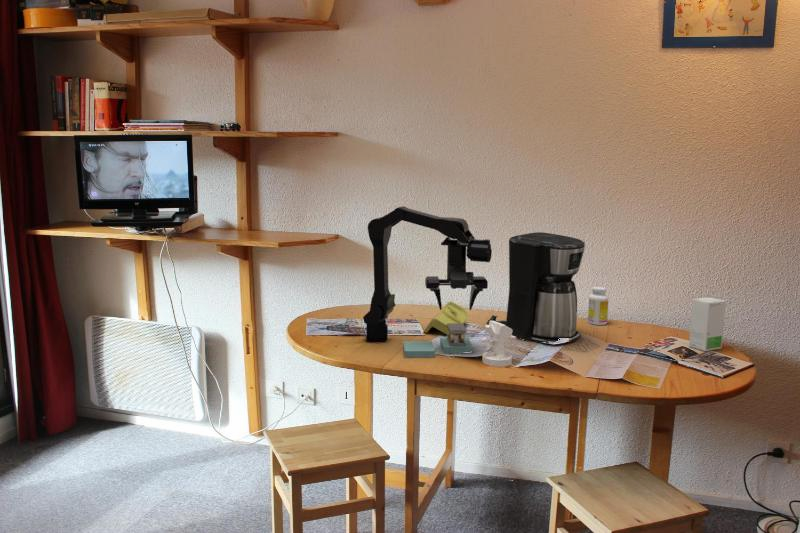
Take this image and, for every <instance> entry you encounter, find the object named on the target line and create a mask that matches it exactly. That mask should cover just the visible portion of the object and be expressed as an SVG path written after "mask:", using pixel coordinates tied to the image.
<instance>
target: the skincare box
mask: <svg viewBox="0 0 800 533" xmlns="http://www.w3.org/2000/svg"><path fill="white" fill-rule="evenodd" d="M726 304H727V301H726V300H723V299H720V298H716V297H715V298H714V297H697V298H693V299H692V306H691V315H690V316H691V317H690V318H691V319H690V328H689V329H690V330H689V338H688V340H689V342H688V348H689V347H690V348H693V349H695V350H699V351H701V352H709V351H713V350H721V349H722V347H723V338H724V337H723V336H724V325H725V313H726Z"/></svg>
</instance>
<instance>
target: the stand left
mask: <svg viewBox="0 0 800 533" xmlns="http://www.w3.org/2000/svg"><path fill="white" fill-rule="evenodd" d="M402 346H403V347H402V349H403V355H404V357H403V358H405V359H407V358H409V359H410V358H411V359H414V358H420V359H421V358H422V359H423V358H430V359H431V358H435V357H436V355H435V352H436V351H435V347H434V343H433V340H429V341H428V340H427V341H426V340H425V341H423V340H421V341H420V340H419V341H418V340H417V341H416V340H415V341H413V340H411V341H410V340H409V341H405V340H404V341H403V344H402Z"/></svg>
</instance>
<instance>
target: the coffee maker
mask: <svg viewBox="0 0 800 533" xmlns="http://www.w3.org/2000/svg"><path fill="white" fill-rule="evenodd" d="M585 245H586V244H585V241H583V240H581V239H579V238H575V237H571V236H567V235H563V234H558V233H557V234H556V233H549V232H540V231H539V232H538V231H537V232H530V233H529V232H528V233H524V234H518V235H513V236H511V237H509V240H508V270H509V271H508V274H509V275H508V276H509V277H508V280H509V281H508V285H509V287H508V288H509V289H508V299H507V300H508V301H507V309H506V310H507V311H506V320H497V317H498V315H493V314H492V315H491V317H490V319H488V320H487V321H486V325H489V321H496V322H498V323H501V324H504V325H505V326H507V327H509V328H511V329H512V330H513V331H512V336H515V337H517V338H516V339H518V338H521V339H520V340H522V339H524V340H523V341H526V340H533V341H532V342H534V341H537V342H536V343H539V342H546V343H549V342H556V341H558V339H559V338H569V341H571V342H573V341H572V340H574V341H575V339H576V340H577V339H579V337H580V336H581V335H582V334H581V332H580V331H578V330H577V324H578V323H577V321H578V320H577V319H578V318H577V317H578V316H577V315H578V314H577V313H578V296H577V289H576V284H575V281H574V280H572V279H573V277H574V276H576V274H578V273H579V270H580V266H581V263H582V260H583V256H584V252H585ZM559 340H560V339H559Z"/></svg>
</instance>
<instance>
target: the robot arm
mask: <svg viewBox="0 0 800 533" xmlns="http://www.w3.org/2000/svg"><path fill="white" fill-rule="evenodd" d="M402 221H403V222H407V223H411V224H413V225H417V226H420V227H424V228H427V229H428V228H429V229H431V230H434V231H436V232H439V233H440V234H442V235H444V236H445V239H444V240H443V241H442V242H441V243H440V245H441V246H447V254H446V256H447V260H446V262H447V263H446V279H443V278H441V279H440V278H439V276H436V275H435V276H432V275H431V276H429V275H427V276H426V277H425V280H424V281H425V282H424V286H425V289H429V291H431V292H433V293H434V294H435V297H436V300H437V304H438V306H439V310H440V311H442V309H443V308H442V297H441V296H442V295H441V288H440V286H449V287H450V288H451V289H453V290H456V289H462V290H465V289H467V288H468V287H467V286H470V294H469V295H470V297H469V305H468V306H469V311H471V310H472V308H473V306H474V304H475V300H476V299H477V296H478V294H479V293H480V292H483V291H484V290H487V289H488V283H489V282H488V280H487V278H486V277H485V276H482V275H479V276H474V272H473V271H467V259H469V260H470V262H480V263H490V262H491V260H492V255H493V254H492V246H491V240H490V239H487V238H486V239H478V238H477V239H476V238H475V236H474V235H473V234H472V232H471V231H470V229H469V224H468V221H466V219H464V218H460V217H443V216H438V215H434V214H431V213H426V212H423V211H419V210H416V209H412V208H408V207H407V206H399V207H396V208H395V209H394V210H392V211H391V212H389V213H387V214H385V215H383V216H381V217H376V218H374V219H371V220H370V221H369V223H368V225H367V233H368V237H369V238H368V239H369V241H370V242H371V245H372V248H373V249H372V254H373V284H374V285H373V287H374V289H373V293H372V297H371V299H370V306H369V311H368V312H367V313H366V314H365V315H364V316H363V317H362V319H363V322H364V324H365V325H366V326H365V327H366V334H365V337H366V338H365V341H366V343H369V342H374V343H377V342H383V343H384V342H387V339H388V338H389V336H388V335H389V334H388V332H389V331H388V330H389V326H388V323H387V322H386V321H387V320H386V319H388V317H389V315H390V314H391V313H393V311H394V307H396V302H395V300H396V294H395V293H391V291H390V288H389V255H388V254H389V253H388V246H389V241H390V239H391V236H392V228H393V227H395V226H396V225H397V224H399V223H400V222H402Z"/></svg>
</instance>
